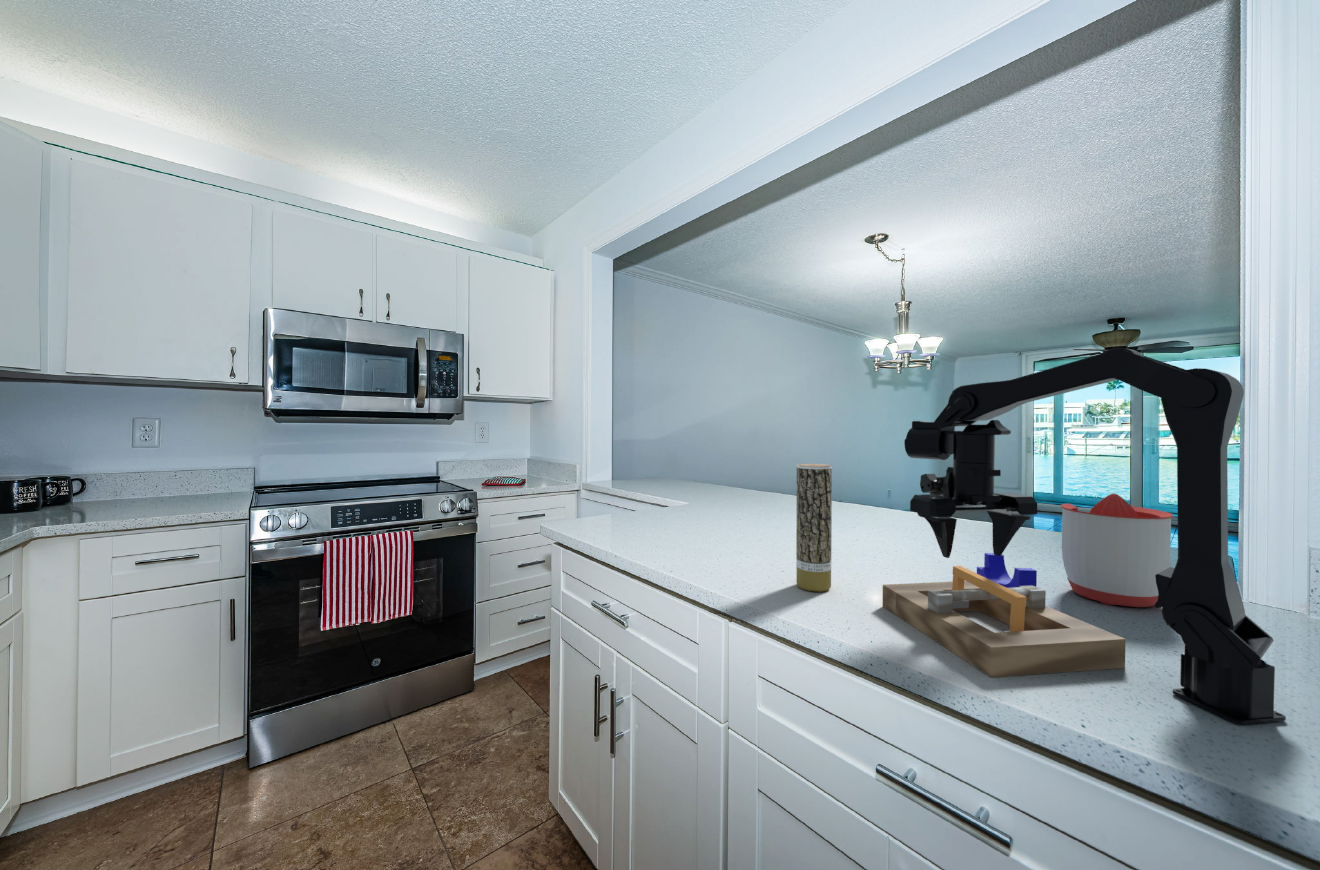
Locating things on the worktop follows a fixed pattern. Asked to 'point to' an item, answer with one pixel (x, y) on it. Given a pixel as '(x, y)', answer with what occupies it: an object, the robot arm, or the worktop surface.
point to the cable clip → (998, 573)
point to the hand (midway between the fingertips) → (971, 556)
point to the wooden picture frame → (1035, 650)
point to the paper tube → (814, 526)
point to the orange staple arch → (994, 588)
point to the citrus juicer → (1116, 551)
